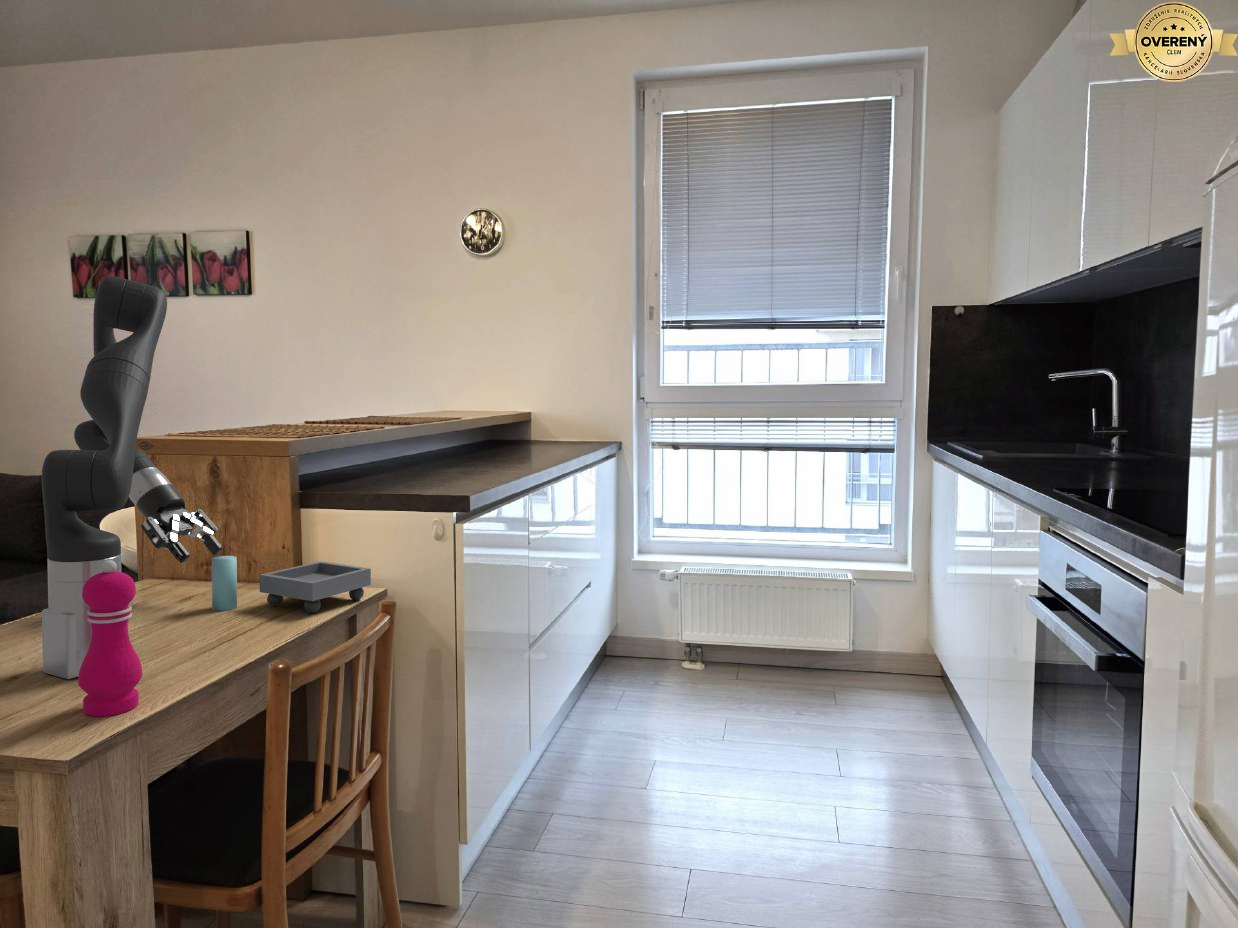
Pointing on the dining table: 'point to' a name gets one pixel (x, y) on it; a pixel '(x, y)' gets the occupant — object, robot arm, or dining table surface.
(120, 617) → the pepper mill
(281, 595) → the grey square tray
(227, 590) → the teal cylinder
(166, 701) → the dining table surface
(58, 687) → the dining table surface
